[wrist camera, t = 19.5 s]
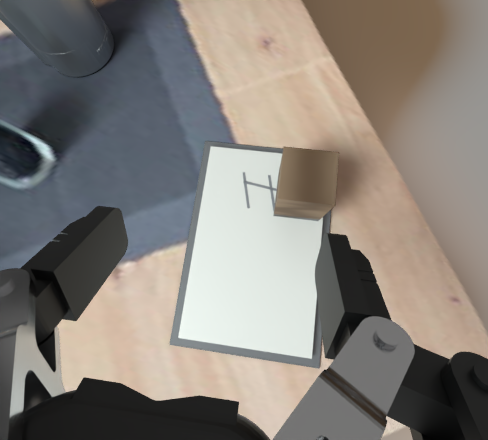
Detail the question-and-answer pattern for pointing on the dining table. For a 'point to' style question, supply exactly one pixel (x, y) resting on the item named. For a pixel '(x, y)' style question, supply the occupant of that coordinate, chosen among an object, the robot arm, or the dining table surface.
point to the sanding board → (248, 264)
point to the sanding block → (306, 183)
